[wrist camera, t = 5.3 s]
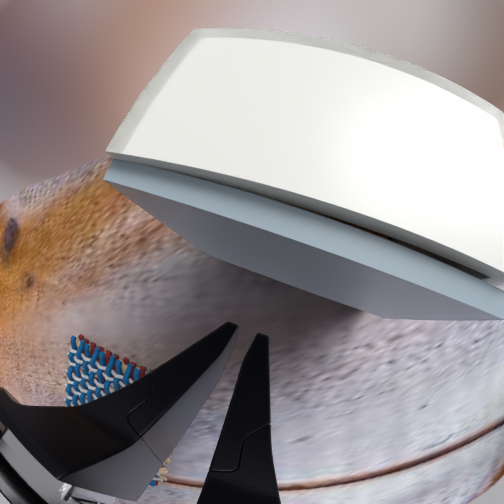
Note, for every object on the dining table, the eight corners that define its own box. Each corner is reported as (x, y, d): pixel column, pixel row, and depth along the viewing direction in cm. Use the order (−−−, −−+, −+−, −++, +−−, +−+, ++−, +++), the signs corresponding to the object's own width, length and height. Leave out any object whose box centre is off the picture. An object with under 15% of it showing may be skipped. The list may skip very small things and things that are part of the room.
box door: (384, 318, 13) (504, 320, 4) (207, 254, 15) (102, 179, 6) (387, 307, 13) (509, 293, 4) (211, 244, 15) (113, 158, 6)
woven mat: (73, 430, 17) (60, 435, 15) (81, 331, 19) (65, 331, 17) (169, 483, 15) (159, 495, 13) (190, 378, 17) (178, 385, 15)
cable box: (371, 304, 16) (521, 281, 4) (224, 256, 18) (103, 150, 6) (389, 232, 17) (507, 115, 4) (250, 189, 19) (192, 29, 6)
